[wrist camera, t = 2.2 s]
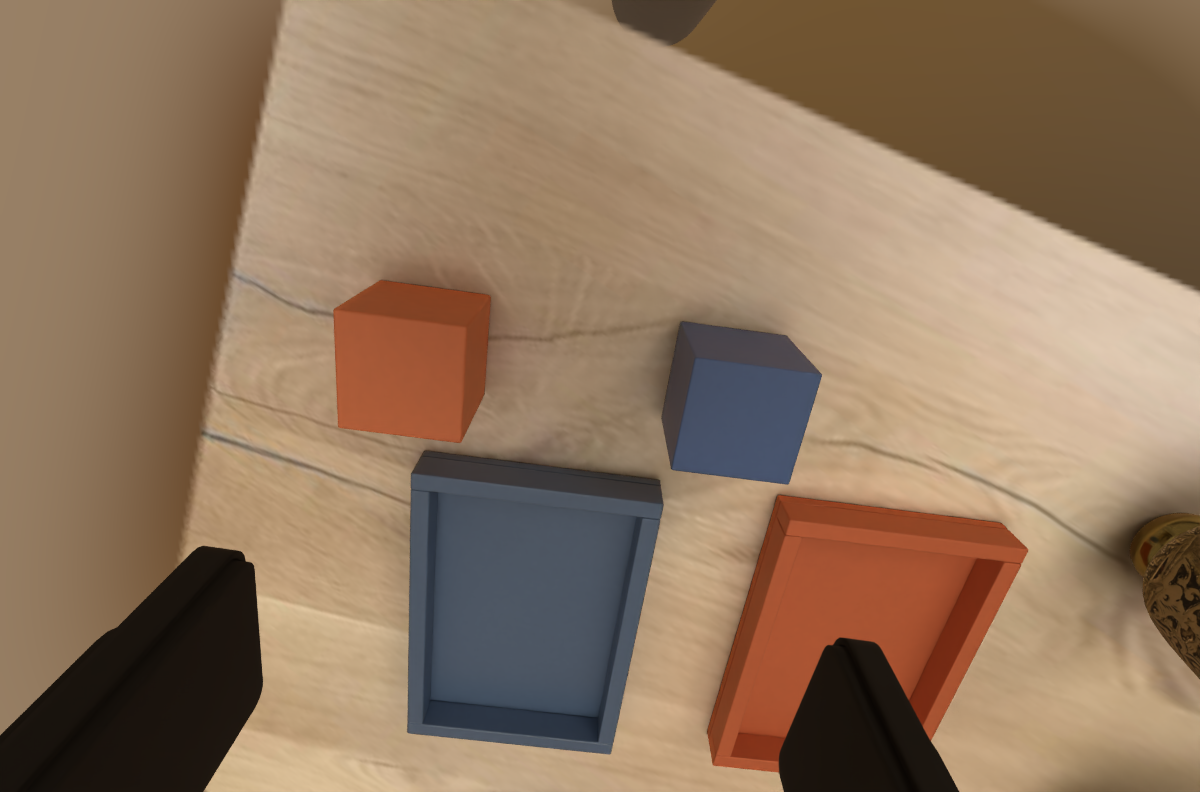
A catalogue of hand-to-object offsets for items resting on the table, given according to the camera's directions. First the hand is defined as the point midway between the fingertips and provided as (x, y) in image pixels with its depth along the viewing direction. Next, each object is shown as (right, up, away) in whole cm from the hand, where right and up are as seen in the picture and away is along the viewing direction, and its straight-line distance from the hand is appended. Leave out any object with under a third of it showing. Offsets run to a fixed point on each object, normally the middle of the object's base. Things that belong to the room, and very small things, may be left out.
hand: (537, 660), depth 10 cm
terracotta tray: (+13, -8, +21) cm, 26 cm away
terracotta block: (-6, +7, +15) cm, 17 cm away
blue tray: (-3, -6, +20) cm, 21 cm away
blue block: (+6, +5, +15) cm, 17 cm away
